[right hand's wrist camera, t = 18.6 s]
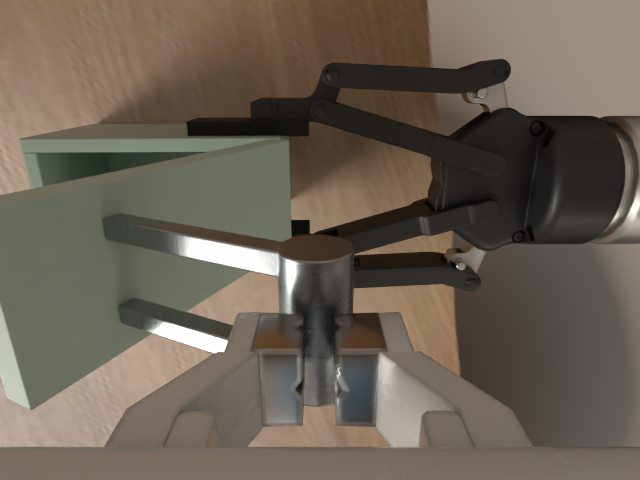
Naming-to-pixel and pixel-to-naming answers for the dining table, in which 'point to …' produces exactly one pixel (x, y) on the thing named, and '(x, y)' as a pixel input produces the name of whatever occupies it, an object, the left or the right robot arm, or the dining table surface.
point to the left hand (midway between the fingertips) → (199, 182)
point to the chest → (115, 149)
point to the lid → (158, 265)
